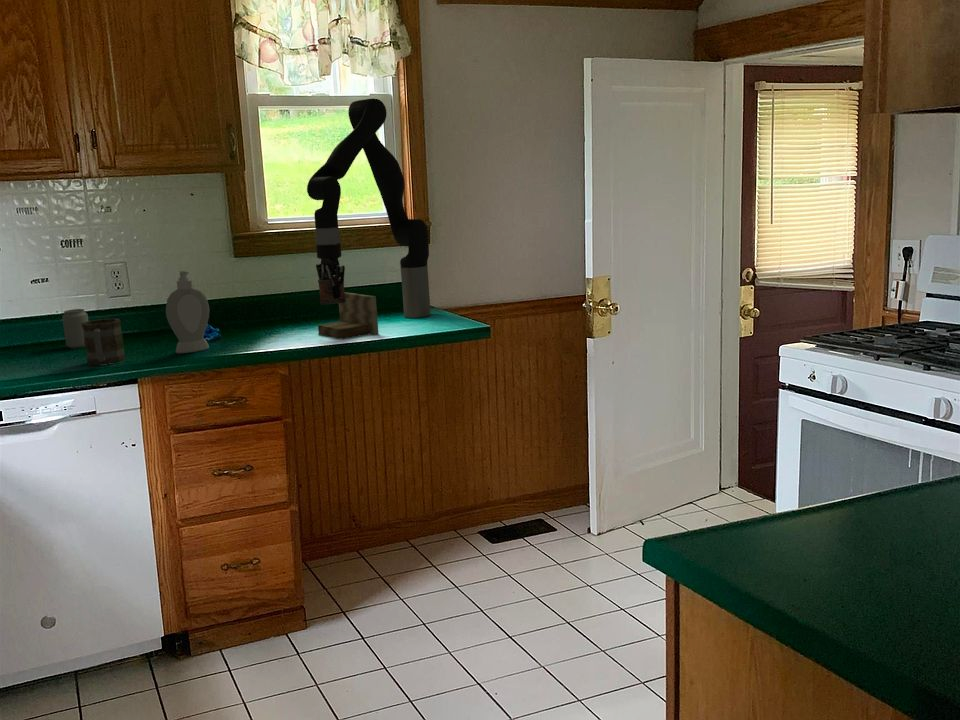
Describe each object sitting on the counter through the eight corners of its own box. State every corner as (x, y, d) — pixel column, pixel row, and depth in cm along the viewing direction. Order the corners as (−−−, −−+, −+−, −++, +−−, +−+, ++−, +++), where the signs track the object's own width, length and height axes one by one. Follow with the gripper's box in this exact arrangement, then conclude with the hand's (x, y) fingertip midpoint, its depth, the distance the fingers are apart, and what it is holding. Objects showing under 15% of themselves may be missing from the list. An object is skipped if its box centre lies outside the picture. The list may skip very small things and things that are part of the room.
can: (67, 350, 295) (62, 312, 292) (65, 346, 301) (60, 310, 299) (93, 346, 298) (87, 309, 296) (90, 343, 305) (85, 307, 302)
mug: (90, 360, 276) (84, 320, 274) (128, 356, 278) (123, 317, 276) (80, 371, 261) (74, 329, 258) (121, 367, 263) (115, 325, 261)
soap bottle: (175, 356, 274) (165, 274, 269) (168, 352, 281) (158, 272, 276) (219, 349, 281) (209, 269, 276) (211, 346, 288) (201, 267, 282)
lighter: (320, 304, 289) (317, 272, 287) (319, 303, 292) (316, 271, 290) (346, 302, 291) (343, 270, 289) (345, 301, 294) (342, 269, 292)
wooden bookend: (314, 333, 300) (310, 296, 297) (345, 327, 307) (341, 291, 304) (346, 340, 285) (343, 301, 282) (378, 334, 292) (375, 296, 289)
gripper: (306, 242, 291) (310, 297, 294) (329, 244, 280) (334, 300, 283) (326, 240, 295) (331, 294, 299) (350, 242, 284) (355, 297, 288)
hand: (332, 297), depth 291 cm, fingers closed on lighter, 4 cm apart
